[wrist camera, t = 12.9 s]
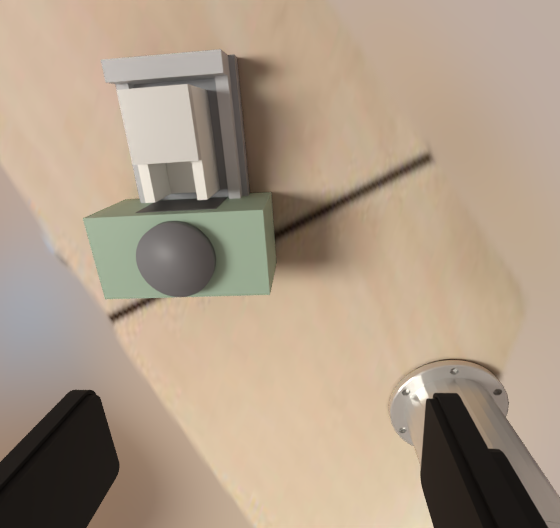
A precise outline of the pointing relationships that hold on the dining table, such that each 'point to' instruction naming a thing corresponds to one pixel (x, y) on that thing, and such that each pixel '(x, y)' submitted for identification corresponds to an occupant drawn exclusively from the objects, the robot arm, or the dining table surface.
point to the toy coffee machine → (188, 202)
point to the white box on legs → (170, 140)
